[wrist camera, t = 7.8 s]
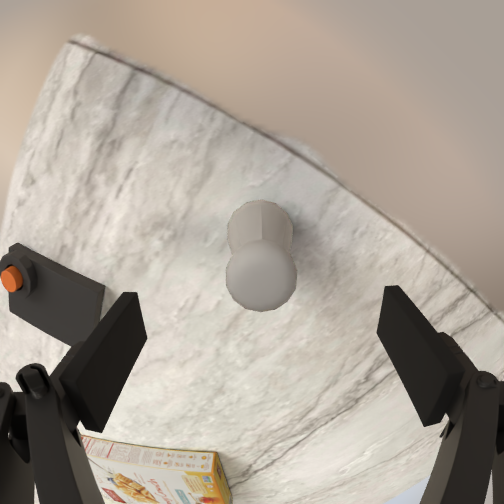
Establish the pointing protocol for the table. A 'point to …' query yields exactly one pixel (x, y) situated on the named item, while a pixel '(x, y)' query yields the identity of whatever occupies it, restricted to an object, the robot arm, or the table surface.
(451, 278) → the table surface
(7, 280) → the button
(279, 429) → the table surface
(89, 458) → the cereal box
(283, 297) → the salt shaker
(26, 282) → the scale
